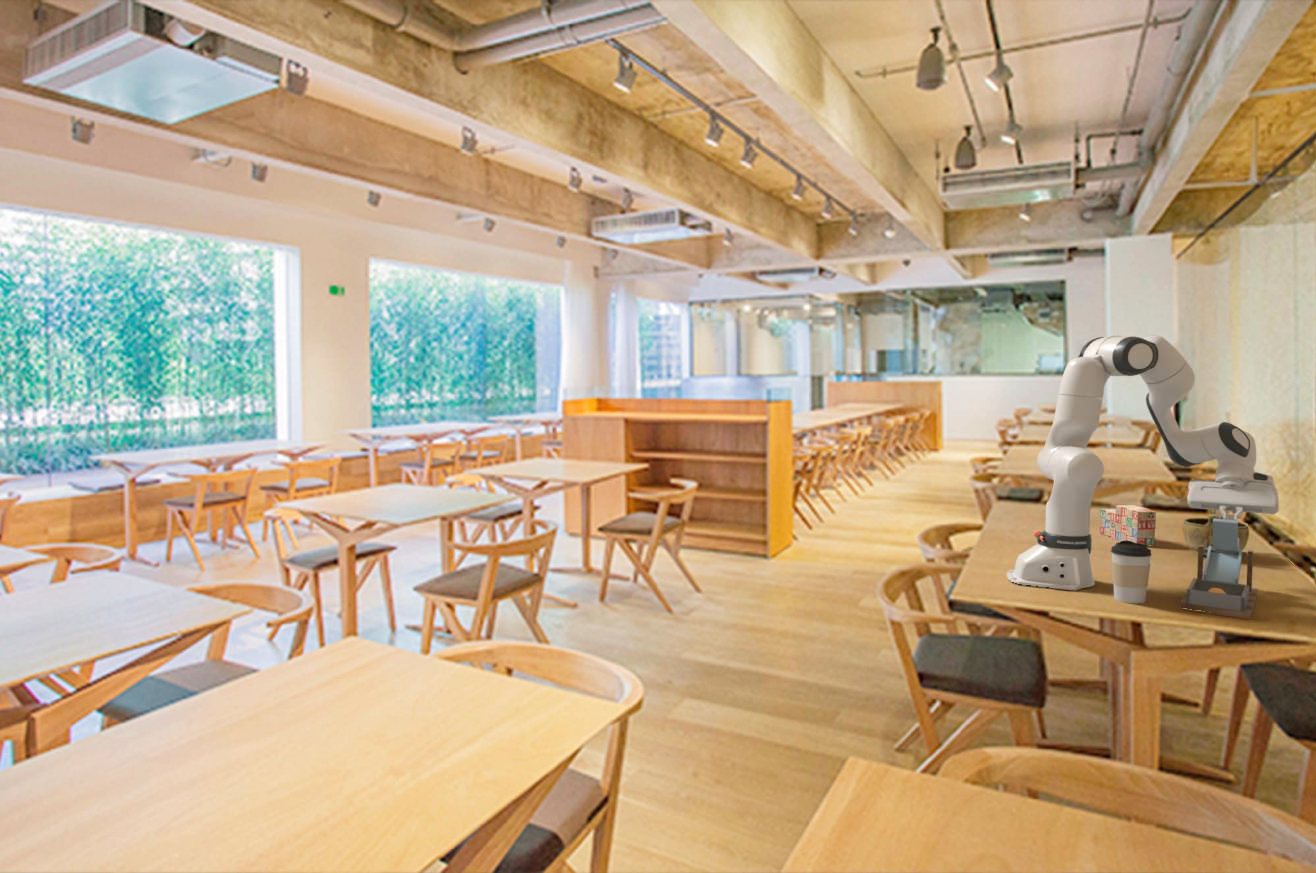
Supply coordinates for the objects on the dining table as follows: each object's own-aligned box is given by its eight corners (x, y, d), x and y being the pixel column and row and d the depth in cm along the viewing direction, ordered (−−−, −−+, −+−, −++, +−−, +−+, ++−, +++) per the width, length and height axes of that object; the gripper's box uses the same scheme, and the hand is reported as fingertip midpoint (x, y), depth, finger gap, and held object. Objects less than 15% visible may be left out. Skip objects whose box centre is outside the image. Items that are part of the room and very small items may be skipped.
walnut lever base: (1193, 585, 211) (1194, 543, 210) (1257, 594, 202) (1259, 549, 201) (1180, 608, 191) (1181, 561, 190) (1250, 619, 182) (1252, 570, 181)
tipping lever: (1208, 552, 213) (1207, 505, 206) (1248, 556, 207) (1248, 509, 200) (1200, 596, 201) (1198, 548, 194) (1242, 602, 195) (1242, 553, 189)
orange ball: (1212, 582, 191) (1212, 595, 192) (1203, 589, 189) (1203, 602, 191) (1230, 588, 187) (1230, 601, 189) (1220, 596, 186) (1220, 609, 187)
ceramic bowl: (1246, 566, 230) (1248, 517, 228) (1178, 559, 240) (1180, 512, 239) (1248, 552, 247) (1250, 506, 246) (1185, 546, 257) (1186, 501, 256)
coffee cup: (1156, 605, 194) (1158, 547, 193) (1117, 604, 196) (1118, 546, 195) (1141, 595, 203) (1143, 539, 202) (1104, 594, 205) (1105, 539, 204)
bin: (1193, 591, 201) (1193, 578, 201) (1248, 598, 193) (1249, 585, 193) (1186, 603, 191) (1186, 589, 190) (1244, 612, 183) (1245, 597, 183)
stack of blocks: (1099, 534, 279) (1100, 500, 278) (1116, 533, 279) (1117, 500, 278) (1136, 547, 258) (1138, 511, 257) (1155, 546, 258) (1156, 510, 257)
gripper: (1188, 472, 219) (1182, 511, 213) (1280, 476, 206) (1277, 518, 199) (1190, 485, 223) (1184, 524, 216) (1280, 491, 209) (1277, 532, 203)
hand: (1229, 521), depth 208 cm, fingers closed
